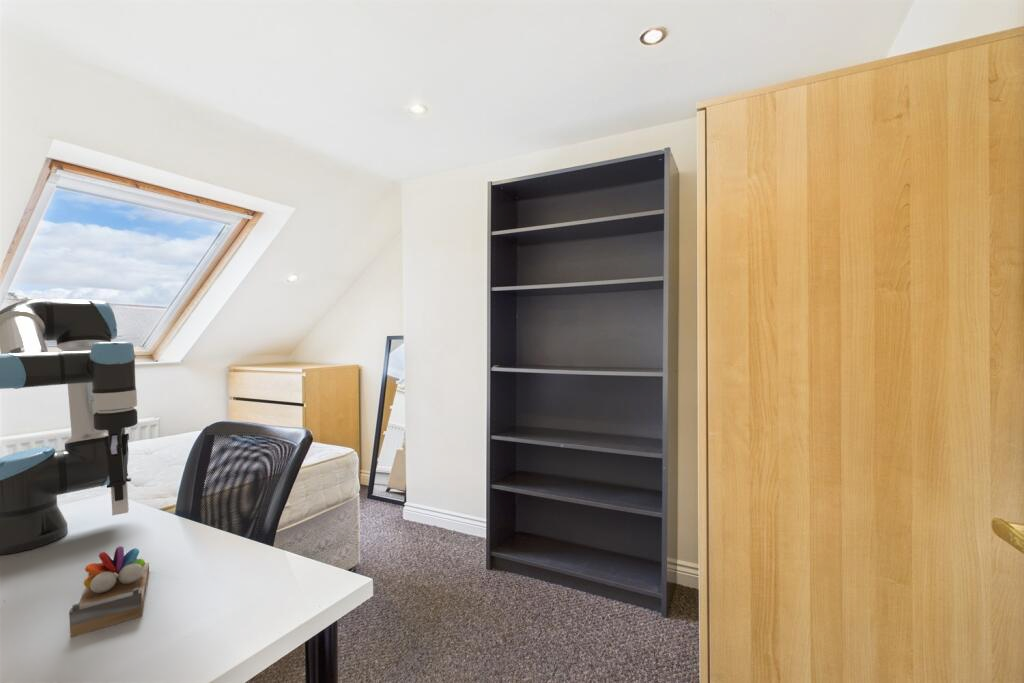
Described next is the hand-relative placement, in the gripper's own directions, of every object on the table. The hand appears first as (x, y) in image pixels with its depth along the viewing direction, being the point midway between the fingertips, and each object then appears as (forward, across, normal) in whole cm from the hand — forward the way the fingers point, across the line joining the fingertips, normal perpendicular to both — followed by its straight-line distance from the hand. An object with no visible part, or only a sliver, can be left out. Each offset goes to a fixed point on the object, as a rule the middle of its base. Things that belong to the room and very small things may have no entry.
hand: (120, 512), depth 105 cm
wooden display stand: (+13, +15, 0) cm, 20 cm away
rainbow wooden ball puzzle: (+11, +11, 0) cm, 16 cm away
